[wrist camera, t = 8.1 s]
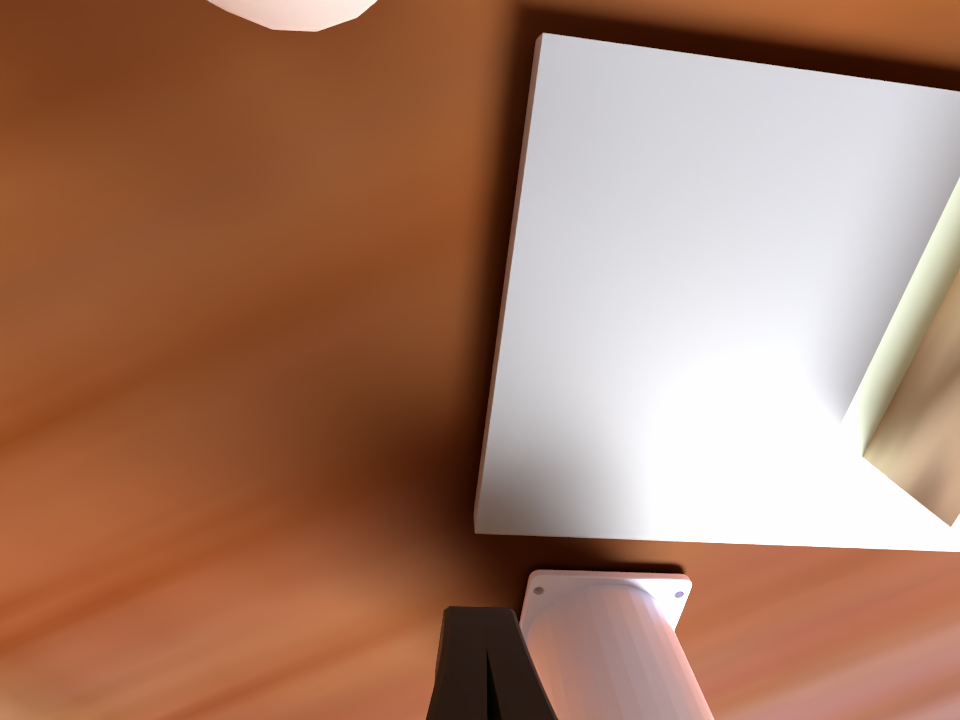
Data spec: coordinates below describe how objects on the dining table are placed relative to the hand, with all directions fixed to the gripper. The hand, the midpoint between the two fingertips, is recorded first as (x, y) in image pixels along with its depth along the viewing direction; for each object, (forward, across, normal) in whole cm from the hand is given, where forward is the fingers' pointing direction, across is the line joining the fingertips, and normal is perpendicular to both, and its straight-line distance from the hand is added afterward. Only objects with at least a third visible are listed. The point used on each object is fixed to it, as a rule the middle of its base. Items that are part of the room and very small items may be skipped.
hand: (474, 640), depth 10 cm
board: (+10, -15, -3) cm, 19 cm away
